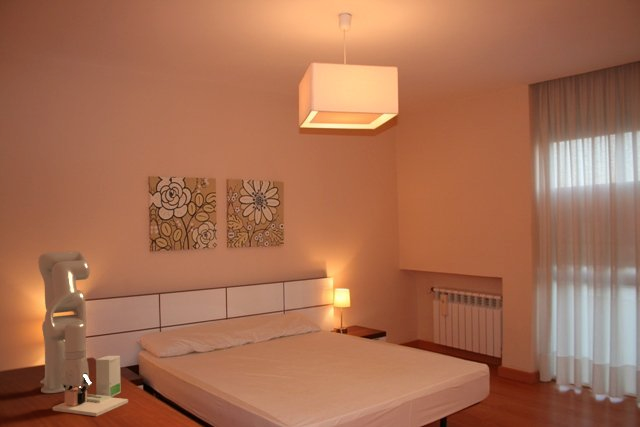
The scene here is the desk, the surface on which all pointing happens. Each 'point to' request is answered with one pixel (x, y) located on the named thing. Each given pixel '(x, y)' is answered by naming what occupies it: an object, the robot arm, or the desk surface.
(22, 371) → the desk surface
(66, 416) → the desk surface
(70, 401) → the stub
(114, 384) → the skincare box
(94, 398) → the ticket board
